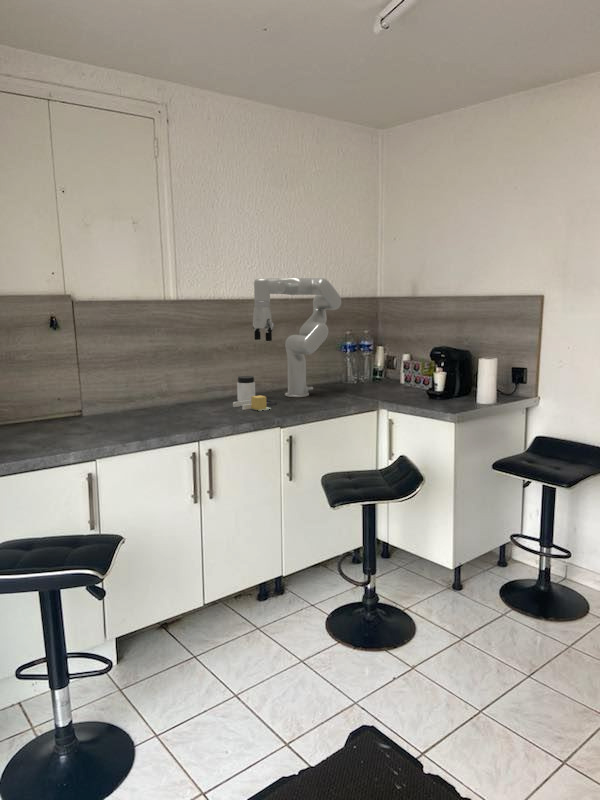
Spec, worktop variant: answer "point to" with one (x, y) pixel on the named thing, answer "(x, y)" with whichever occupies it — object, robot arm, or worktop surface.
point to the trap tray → (270, 403)
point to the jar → (245, 388)
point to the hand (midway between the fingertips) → (263, 340)
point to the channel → (243, 404)
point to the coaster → (263, 409)
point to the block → (258, 402)
